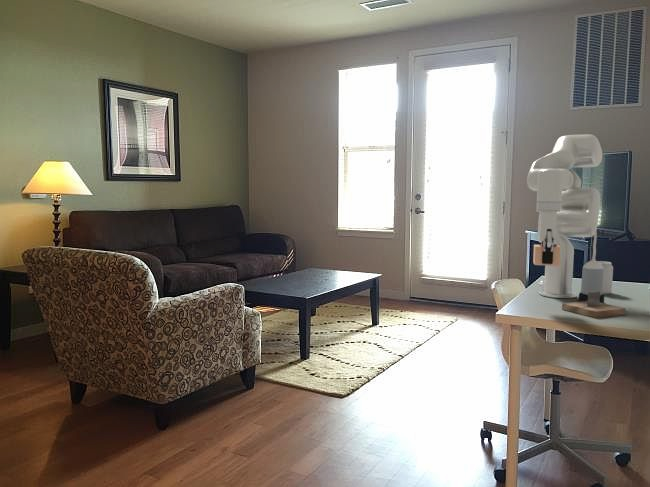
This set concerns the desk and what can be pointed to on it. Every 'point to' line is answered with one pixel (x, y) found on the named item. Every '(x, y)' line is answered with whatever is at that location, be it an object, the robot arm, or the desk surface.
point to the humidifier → (592, 276)
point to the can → (607, 277)
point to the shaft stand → (593, 307)
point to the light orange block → (538, 255)
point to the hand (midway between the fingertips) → (546, 261)
